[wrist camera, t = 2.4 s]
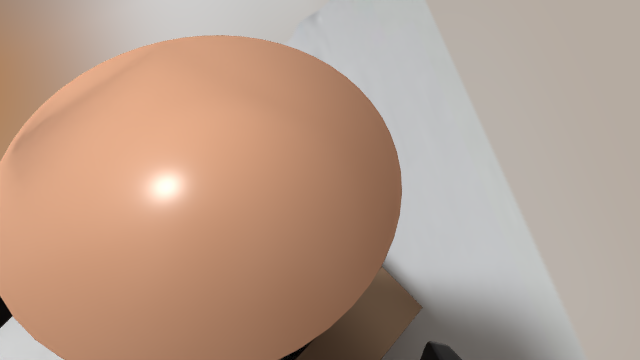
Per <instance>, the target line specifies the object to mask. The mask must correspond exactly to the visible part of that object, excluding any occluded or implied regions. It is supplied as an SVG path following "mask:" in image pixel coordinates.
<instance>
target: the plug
mask: <svg viewBox="0 0 640 360" xmlns="http://www.w3.org/2000/svg"><path fill="white" fill-rule="evenodd" d="M401 196H402V185H401V170H400V165H399V160H398V155H397V151H396V148H395V145H394V142H393V140H392V137H391V134H390V132H389V130H388V128H387V126H386V124H385V122H384V120H383V118H382V117H381V115H380V114H379V112H378V111H377V109H376V108H375V107H374V105H373V104H372V102H371V101H370V100H369V99H368V98H367V97H366V96H365V94H364V93H363V92H362V91H361V90H360V89H359V88H358V87H357V86H356V85H355V84H354V83H352V82H351V81H350V80H349V79H348V78H347V77H346V76H344V75H343V74H341V73H340V72H339V71H337V70H336V69H334V68H333V67H332V66H330V65H328V64H326V63H325V62H323V61H321V60H319V59H317V58H316V57H314V56H311V55H309V54H307V53H304V52H302V51H300V50H297V49H294V48H291V47H288V46H285V45H282V44H279V43H274V42H271V41H266V40H262V39H255V38H249V37H240V36H225V35H221V36H219V35H216V36H195V37H185V38H179V39H173V40H167V41H163V42H159V43H154V44H151V45H147V46H143V47H140V48H137V49H134V50H131V51H129V52H126V53H123V54H120V55H118V56H116V57H114V58H112V59H109V60H107V61H105V62H103V63H101V64H99V65H97V66H95V67H93V68H92V69H90V70H88V71H87V72H85V73H83V74H81V75H80V76H78V77H77V78H75V79H74V80H72V81H71V82H70V83H68V84H67V85H65V86H64V87H62V88H61V89H60V90H59V91H58V92H56V93H55V94H54V95H53V96H52V97H51V98H49V99H48V100H47V101H46V102H45V103H43V104H42V105H41V107H40V108H39V109H38V110H37V111H36V112H35V113H34V114H33V115H32V116H31V117H30V118H29V119H28V120H27V121H26V123H25V124H24V125H23V127H22V128H21V130H20V131H19V132H18V134H17V135H16V136H15V138H14V139H13V140H12V142H11V144H10V145H9V147H8V149H7V151H6V152H5V154H4V156H3V158H2V160H1V162H0V296H1V298H2V299H3V301H4V303H5V304H6V306H7V307H8V309H9V311H10V312H11V314H12V315H13V317H14V318H15V319H16V320H17V321H18V322H19V323H20V324H21V325H22V326H23V327H24V329H25V330H26V331H27V332H28V333H29V334H30V335H31V336H32V337H33V338H34V339H35V340H37V341H38V342H39V343H41V344H42V345H44V346H45V347H46V348H48V349H49V350H51V351H52V352H54V353H55V354H56V355H58V356H59V357H61V358H63V359H65V360H279V359H281V358H283V357H285V356H287V355H289V354H290V353H292V352H294V351H296V350H298V349H300V348H302V347H303V346H305V345H306V344H307V343H309V342H310V341H312V340H313V339H314V338H316V337H317V336H319V335H320V334H322V333H323V332H324V331H326V330H327V329H329V328H330V327H331V326H332V325H333V324H334V323H335V322H336V321H337V320H338V319H340V318H341V317H342V316H343V315H344V314H345V313H346V312H347V311H348V310H349V309H350V308H351V307H352V306H353V305H354V304H355V303H356V301H357V300H358V299H359V298H360V296H361V295H362V294H363V293H364V291H365V290H366V289H367V288H368V286H369V285H370V284H371V282H372V281H373V279H374V277H375V276H376V274H377V272H378V271H379V269H380V267H381V266H382V264H383V262H384V260H385V258H386V256H387V253H388V251H389V248H390V246H391V243H392V241H393V239H394V236H395V232H396V228H397V224H398V220H399V216H400V207H401Z"/></svg>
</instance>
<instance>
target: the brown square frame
mask: <svg viewBox="0 0 640 360" xmlns="http://www.w3.org/2000/svg"><path fill="white" fill-rule="evenodd" d="M422 308H423V307H422V306H421V305H420V304H419V303H418V302H417V301H416V300H415V299H414V298H413V297H412V296H411V295H410V294H409V293H408V292H407V291H406V290H405V289H404V288H403V287H402V286H401V285H400V284H399V283H398V282H397V281H396V280H395V279H394V278H393V277H392V276H391V275H390V274H389V273H388V272H387V271H386V270H385V269H384V268H383V267H382V266H381V267H380V269H379V271H378V272H377V274H376V276H375V277H374V279H373V281H372V282H371V284H370V285H369V286H368V288H367V289H366V290H365V291H364V293H363V294H362V295H361V296H360V298H359V299H358V300H357V301H356V303H355V304H354V305H353V306H352V307H351V308H350V309H349V310H348V311H347V312H346V313H345V314H344V315H343V316H342V317H341V318H340V319H338V320H337V321H336V322H335V323H334V324H333V325H332V326H331V327H330V328H329V329H327V330H326V331H324V332H323V333H322V334H320V335H319V336H317V337H316V338H314V339H313V340H312V341H310V342H309V343H308V344H307V345H306V346H305V347H304V349H303V350H302V351H301V352H300V353H299V354H298V355H297V356H296V357H295V358H294V359H293V360H381V359H382V358H383V356H384V355H385V354H386V353H387V351H388V350H389V349H390V348H391V346H392V345H393V344H394V343H395V341H396V340H397V339H398V338H399V336H400V335H401V334H402V333H403V331H404V330H405V329H406V328H407V326H408V325H409V324H410V323H411V321H412V320H413V319H414V318H415V316H416V315H417V314H418V313H419V311H420V310H421V309H422Z"/></svg>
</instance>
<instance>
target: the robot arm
mask: <svg viewBox="0 0 640 360" xmlns="http://www.w3.org/2000/svg"><path fill="white" fill-rule="evenodd" d="M12 316H13V315H12V314H11V312H10V311H9V309H8V307H7V306H6V304H5V303H4V301H3V299H2V298H1V296H0V328H1V327H2V326H3V325H4V324H5V323H6V322H7V321H8V320H9V319H10V318H11V317H12ZM420 360H462V359H461V358H460V357H459V356H458V355H457V354H456V353H455V352H454V351H453V350H452V349H451V348H450V347H449V346H448V345H446V344H442V343H437V342H433V341H430V342H428V343H427V344H426V346H425V348H424V351H423V354H422V356H421V359H420Z"/></svg>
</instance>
